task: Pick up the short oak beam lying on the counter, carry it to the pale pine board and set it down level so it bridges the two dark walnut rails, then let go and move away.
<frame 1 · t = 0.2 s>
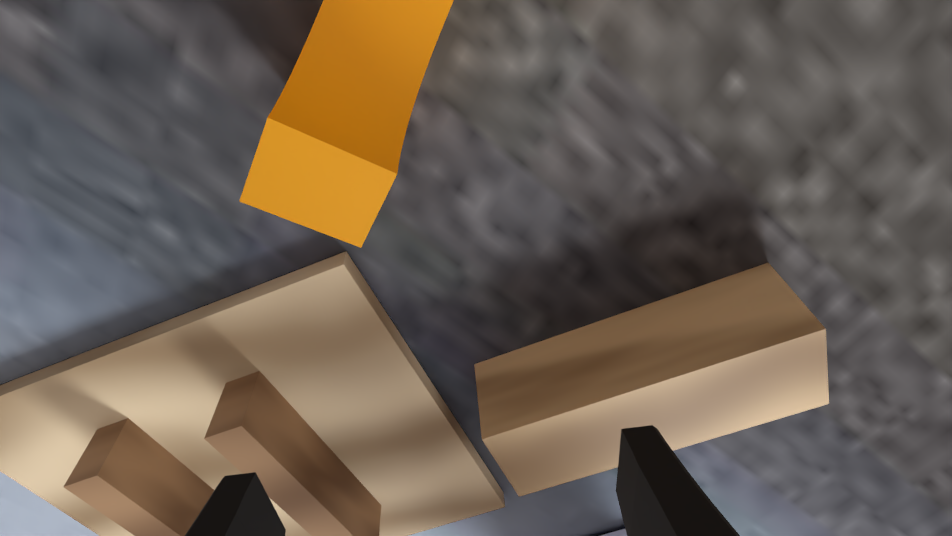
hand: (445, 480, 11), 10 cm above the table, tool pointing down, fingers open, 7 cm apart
oak beam: (624, 344, 24), on the table
rail stand: (256, 455, 25), on the table
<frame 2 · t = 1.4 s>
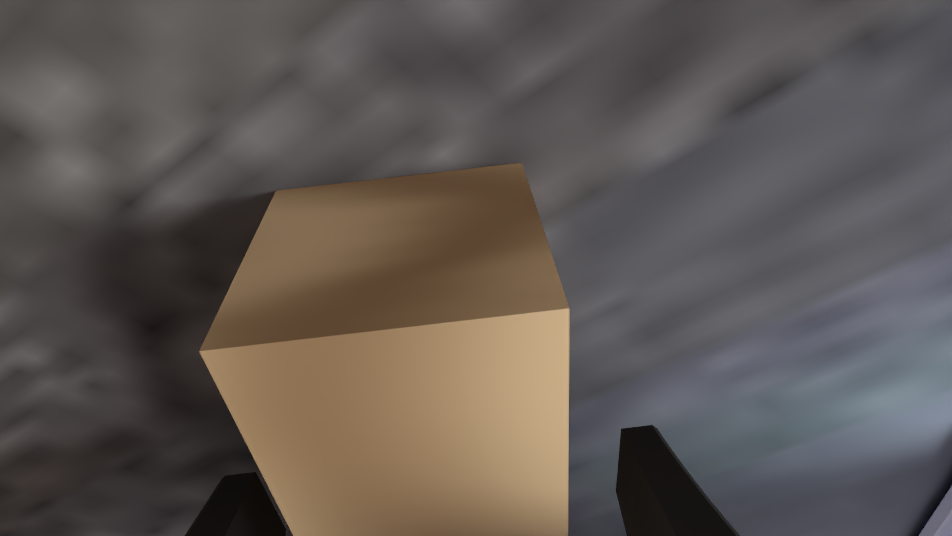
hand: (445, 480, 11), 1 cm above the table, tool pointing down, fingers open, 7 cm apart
oak beam: (444, 412, 13), on the table
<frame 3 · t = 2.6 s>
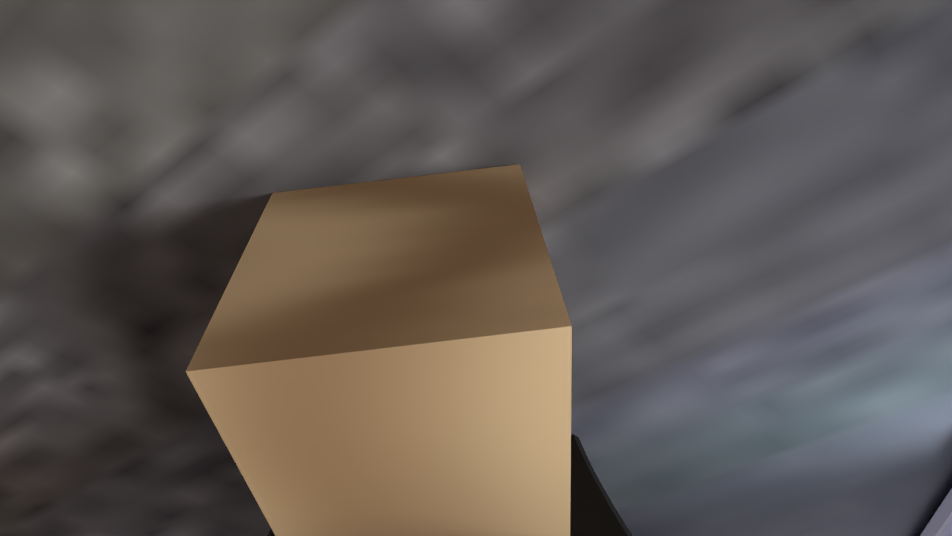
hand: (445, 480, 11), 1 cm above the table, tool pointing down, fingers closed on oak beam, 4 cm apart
oak beam: (443, 422, 13), on the table, touching gripper
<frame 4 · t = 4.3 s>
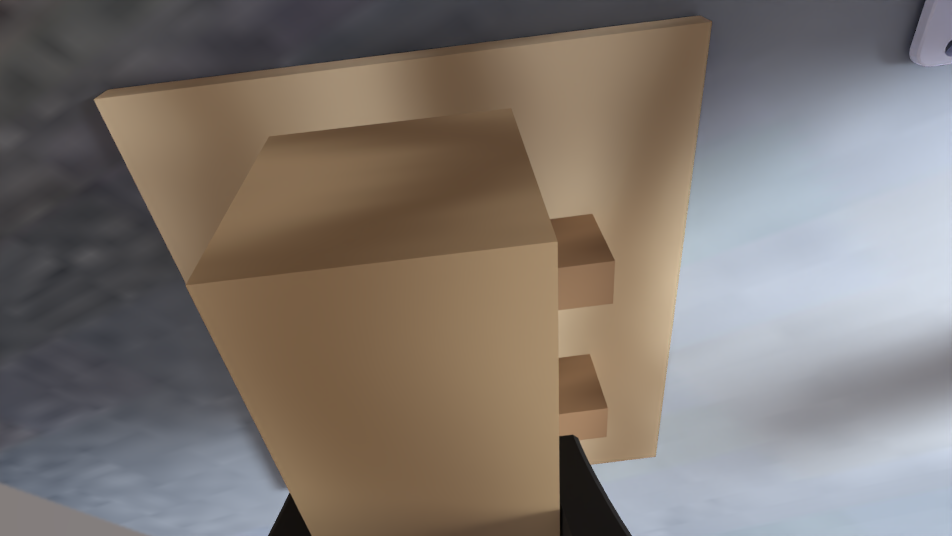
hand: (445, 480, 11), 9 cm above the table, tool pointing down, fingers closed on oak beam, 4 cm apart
oak beam: (438, 374, 13), point 7 cm above the table, touching gripper
rail stand: (447, 310, 20), on the table
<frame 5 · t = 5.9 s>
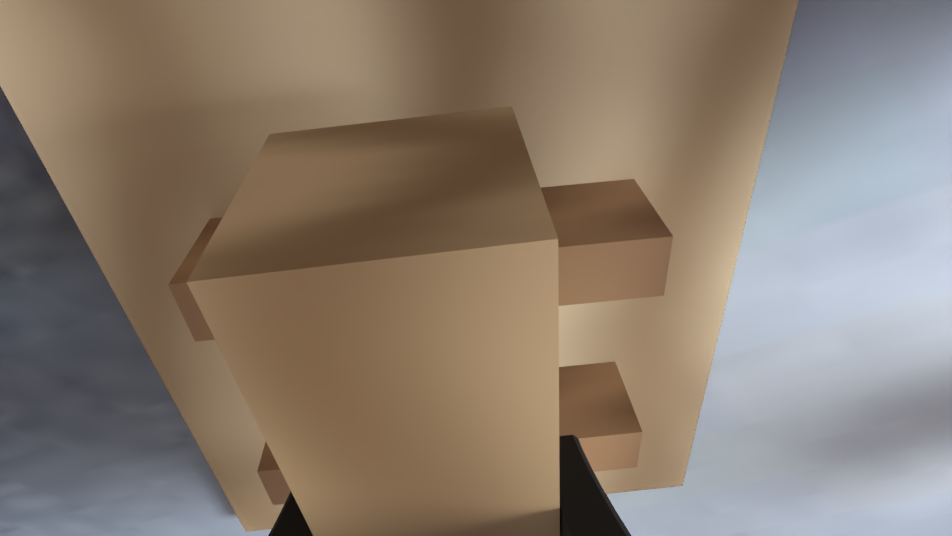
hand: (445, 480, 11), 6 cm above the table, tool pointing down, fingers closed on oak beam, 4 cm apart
oak beam: (438, 373, 13), point 3 cm above the table, touching gripper
rail stand: (439, 302, 16), on the table
when the fingers open (6 cm above the table, at t = 6.4 s): oak beam stays where it is, resting on rail stand.
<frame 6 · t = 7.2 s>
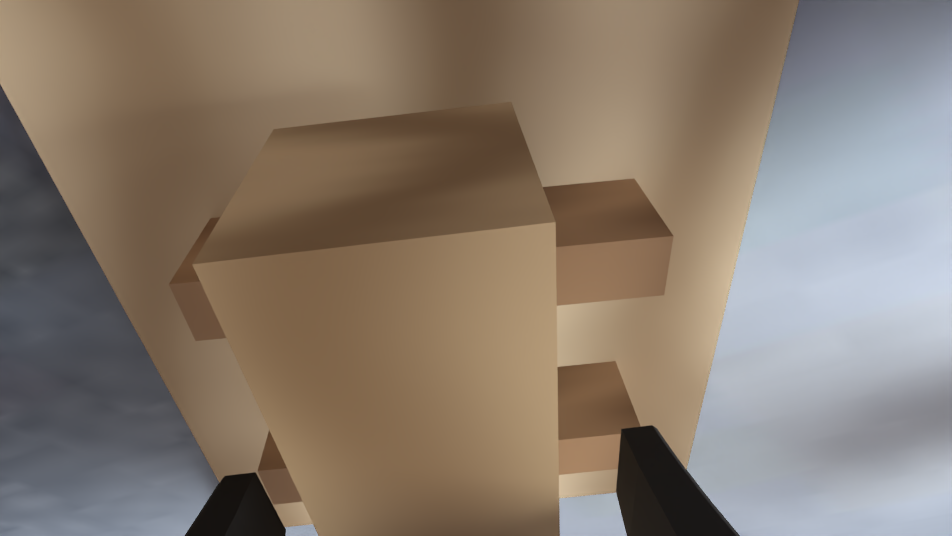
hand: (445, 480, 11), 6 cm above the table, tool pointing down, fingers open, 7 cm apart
oak beam: (438, 369, 13), point 3 cm above the table, touching rail stand
rail stand: (439, 301, 16), on the table
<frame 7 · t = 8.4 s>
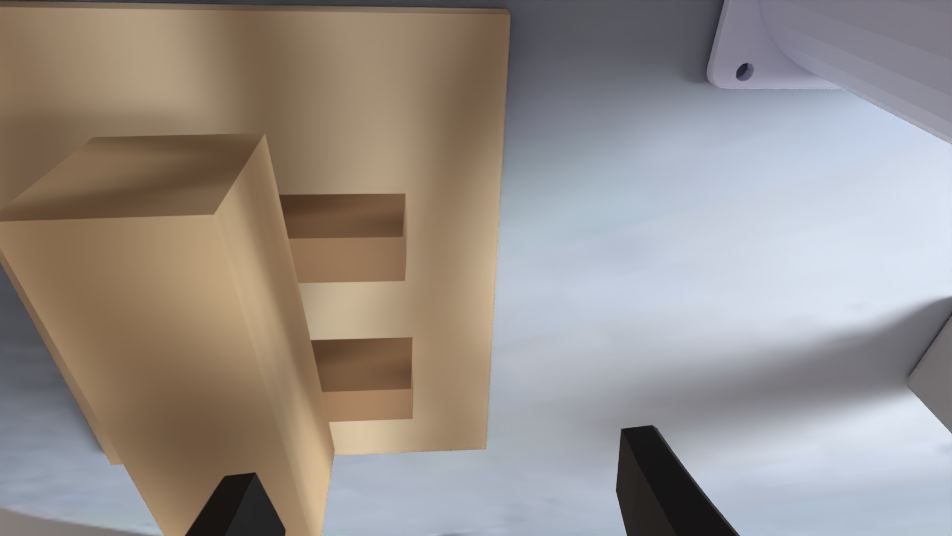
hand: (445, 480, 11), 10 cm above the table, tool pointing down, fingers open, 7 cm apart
oak beam: (239, 325, 17), point 3 cm above the table, touching rail stand
rail stand: (269, 278, 20), on the table
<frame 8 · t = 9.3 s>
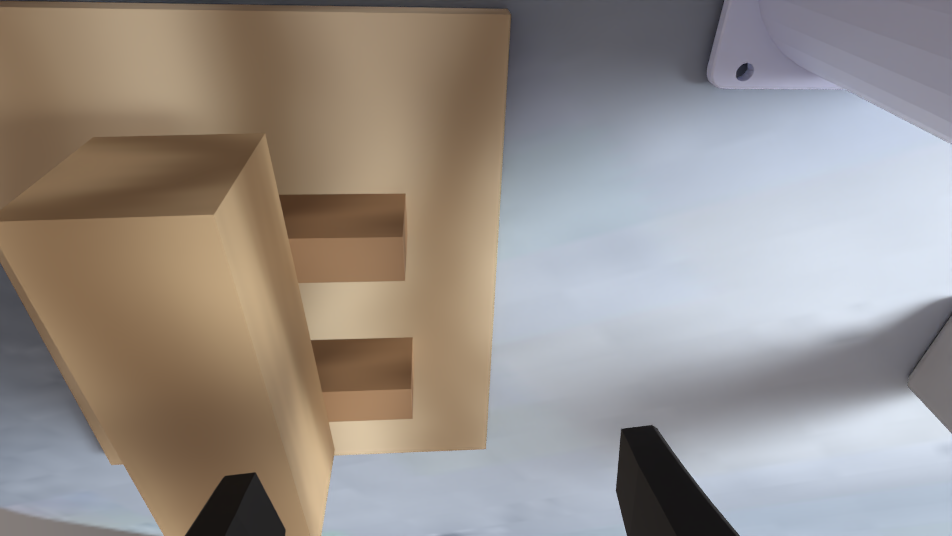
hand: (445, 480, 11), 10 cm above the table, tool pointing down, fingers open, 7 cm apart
oak beam: (239, 325, 17), point 3 cm above the table, touching rail stand
rail stand: (269, 278, 20), on the table
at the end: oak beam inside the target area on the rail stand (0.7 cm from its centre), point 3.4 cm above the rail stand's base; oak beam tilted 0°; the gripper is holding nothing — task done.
